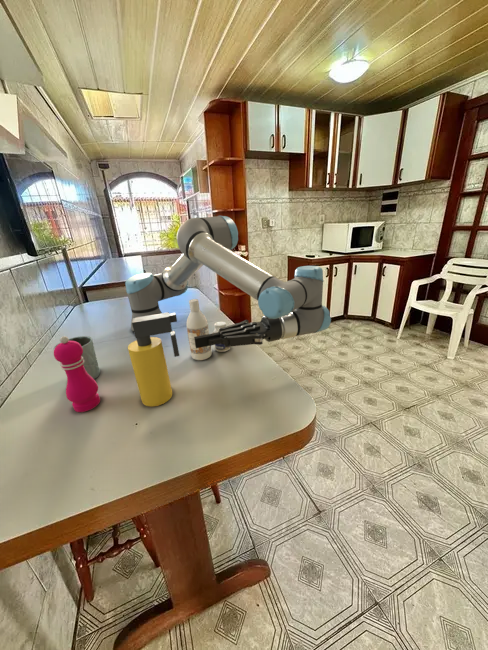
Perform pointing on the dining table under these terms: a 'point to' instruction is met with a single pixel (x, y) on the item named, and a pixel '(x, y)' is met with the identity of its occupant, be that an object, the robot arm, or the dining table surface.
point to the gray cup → (88, 355)
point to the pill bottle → (220, 346)
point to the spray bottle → (151, 358)
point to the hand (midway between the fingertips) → (195, 342)
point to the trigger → (174, 343)
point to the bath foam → (197, 331)
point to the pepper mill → (76, 376)
